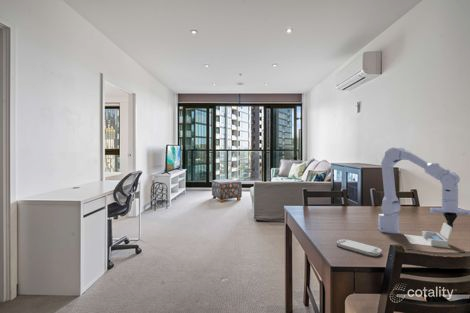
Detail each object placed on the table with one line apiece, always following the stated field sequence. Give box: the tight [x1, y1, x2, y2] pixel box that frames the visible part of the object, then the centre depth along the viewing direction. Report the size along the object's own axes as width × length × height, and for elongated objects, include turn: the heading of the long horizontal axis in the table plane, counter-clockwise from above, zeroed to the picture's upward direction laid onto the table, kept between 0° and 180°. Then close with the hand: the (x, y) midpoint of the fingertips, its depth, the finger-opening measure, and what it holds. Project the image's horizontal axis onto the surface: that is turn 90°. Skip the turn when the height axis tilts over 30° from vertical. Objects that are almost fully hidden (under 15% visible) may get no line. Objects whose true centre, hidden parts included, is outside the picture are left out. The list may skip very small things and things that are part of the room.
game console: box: [336, 238, 383, 257], centre depth 117 cm, size 18×2×8 cm
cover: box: [439, 222, 454, 240], centre depth 123 cm, size 6×9×1 cm
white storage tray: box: [403, 230, 451, 249], centre depth 127 cm, size 15×14×3 cm
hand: (449, 229), depth 123 cm, fingers closed, pressing on cover
